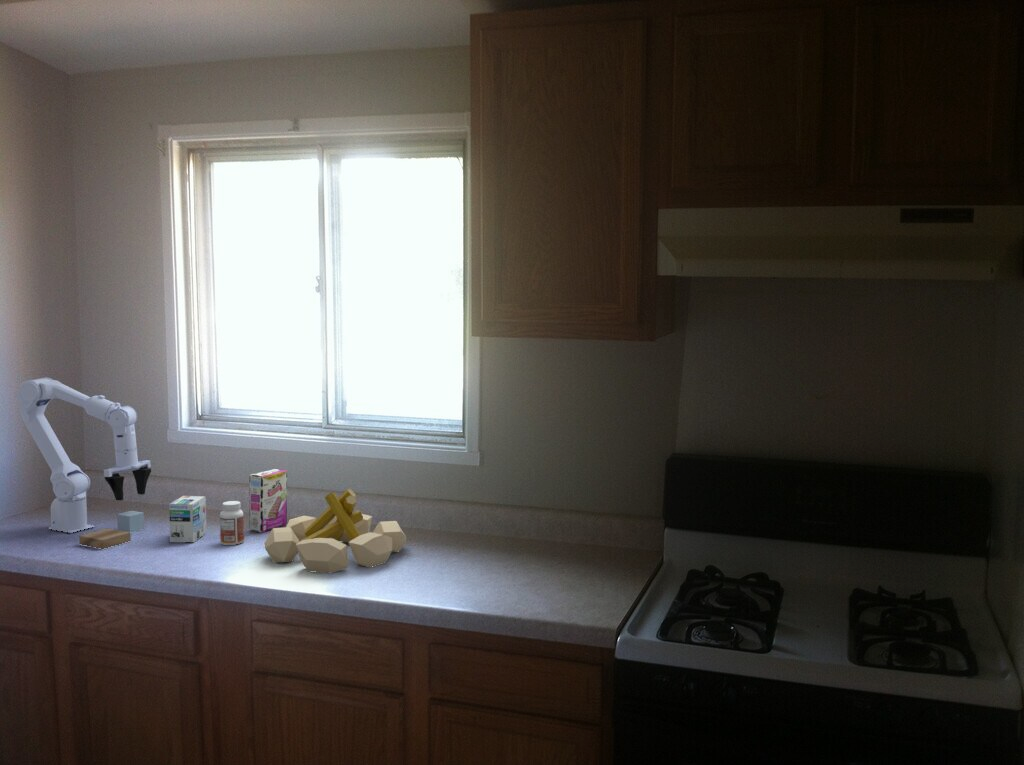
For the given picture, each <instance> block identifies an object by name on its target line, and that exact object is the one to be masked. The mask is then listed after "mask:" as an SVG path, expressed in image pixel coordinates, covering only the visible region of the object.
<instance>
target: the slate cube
mask: <svg viewBox="0 0 1024 765" xmlns="http://www.w3.org/2000/svg"><path fill="white" fill-rule="evenodd" d="M116 520H117V521H116V525H117V529H116V530H120V531H125V532H134V531H137V530H140V529H144V530H145V512H141V511H136V510H128V511H124V512H121V513H117V514H116ZM137 532H138V531H137ZM134 533H135V532H134Z"/></svg>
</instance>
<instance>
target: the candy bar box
mask: <svg viewBox="0 0 1024 765" xmlns="http://www.w3.org/2000/svg"><path fill="white" fill-rule="evenodd" d="M287 513H288V470H285V469H279V468H277V469H276V468H273V469H269V470H266V471H265V470H264V471H259V472H256V473H251V474H249V520H248V521H249V524H248V526H249V528H248V529H249V531H250V532H253V531H254V533H261V534H262V533H265V532H268V531H272V529H273V528H282V527H284V526H287V525H286V524H288V519H287V518H288V517H287V516H288V514H287Z"/></svg>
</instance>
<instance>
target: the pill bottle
mask: <svg viewBox="0 0 1024 765" xmlns="http://www.w3.org/2000/svg"><path fill="white" fill-rule="evenodd" d="M241 506H242V505H241V501H238V500H230V501H229V500H228V501H224V502H222V509H223V510H222V511H220V513H219V528H220V529H219V533H220V537H219V538H220V544H221V543H222V545H223V544H226V545H225V546H236V544H238V545H241V544H242V543H244V542H245V524H244V523H245V521H244V518H245V517H244V512H243V510H242V509H241ZM240 543H241V544H240Z"/></svg>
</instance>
